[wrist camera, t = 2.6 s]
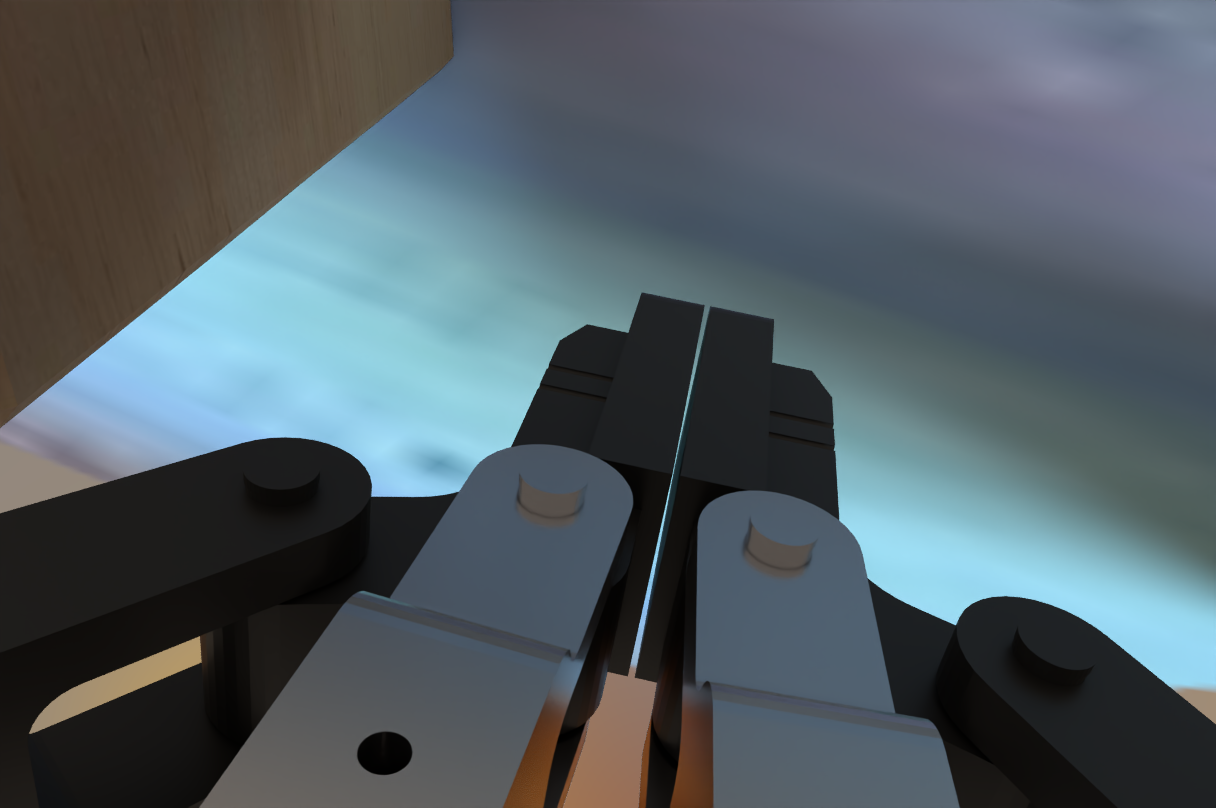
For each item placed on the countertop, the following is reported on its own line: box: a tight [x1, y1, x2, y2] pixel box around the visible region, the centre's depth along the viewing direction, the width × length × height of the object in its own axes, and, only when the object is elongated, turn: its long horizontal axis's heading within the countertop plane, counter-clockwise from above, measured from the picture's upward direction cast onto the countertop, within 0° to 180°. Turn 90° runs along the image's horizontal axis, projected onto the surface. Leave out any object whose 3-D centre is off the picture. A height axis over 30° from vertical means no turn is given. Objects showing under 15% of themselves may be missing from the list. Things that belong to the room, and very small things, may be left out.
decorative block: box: [0, 0, 454, 428], centre depth 20 cm, size 11×6×20 cm, turn 88°
